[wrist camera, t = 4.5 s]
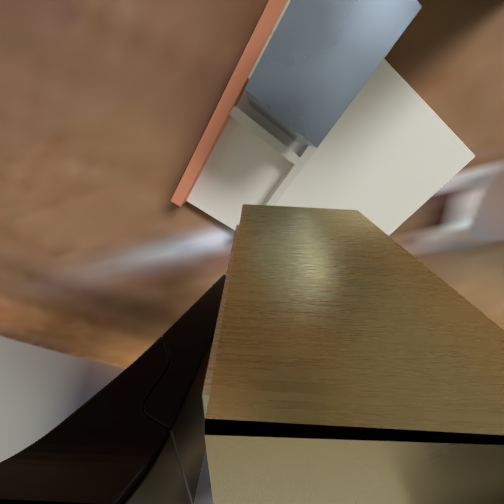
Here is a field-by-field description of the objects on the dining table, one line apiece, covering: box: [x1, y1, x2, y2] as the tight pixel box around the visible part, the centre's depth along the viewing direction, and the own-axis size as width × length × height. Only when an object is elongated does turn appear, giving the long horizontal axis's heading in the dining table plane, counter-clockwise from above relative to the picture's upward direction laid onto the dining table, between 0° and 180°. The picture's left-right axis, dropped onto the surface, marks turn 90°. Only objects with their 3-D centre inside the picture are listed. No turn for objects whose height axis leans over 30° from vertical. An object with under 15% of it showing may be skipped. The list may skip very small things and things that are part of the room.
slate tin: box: [245, 0, 422, 148], centre depth 11 cm, size 4×6×6 cm
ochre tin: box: [202, 204, 504, 504], centre depth 6 cm, size 4×6×6 cm
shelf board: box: [171, 0, 475, 236], centre depth 17 cm, size 17×15×3 cm
